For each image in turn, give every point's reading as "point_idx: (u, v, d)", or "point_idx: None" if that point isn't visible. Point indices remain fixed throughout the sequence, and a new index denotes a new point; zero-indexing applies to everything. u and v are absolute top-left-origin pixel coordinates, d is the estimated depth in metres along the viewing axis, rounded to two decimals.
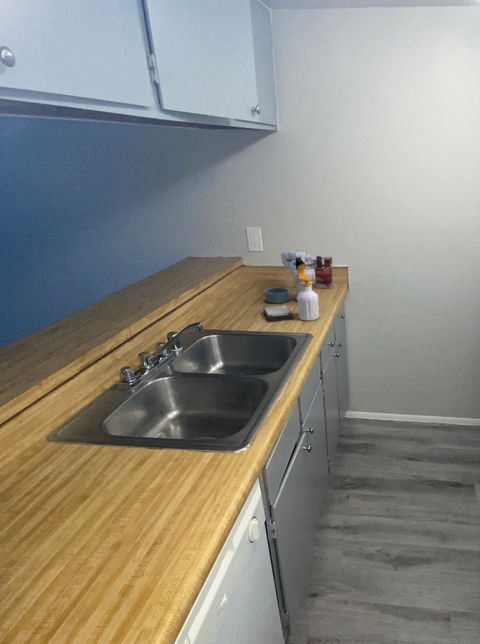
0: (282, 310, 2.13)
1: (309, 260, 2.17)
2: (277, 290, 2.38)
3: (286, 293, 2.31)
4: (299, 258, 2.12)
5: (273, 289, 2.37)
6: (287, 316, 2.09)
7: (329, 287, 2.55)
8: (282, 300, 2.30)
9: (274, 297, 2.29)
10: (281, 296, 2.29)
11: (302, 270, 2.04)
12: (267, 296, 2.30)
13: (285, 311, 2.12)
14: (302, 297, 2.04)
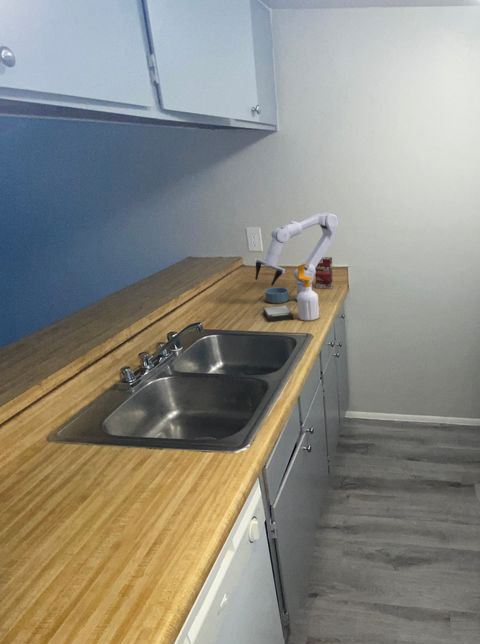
0: (282, 310, 2.13)
1: (271, 265, 2.17)
2: (277, 290, 2.38)
3: (286, 293, 2.31)
4: (259, 267, 2.15)
5: (273, 289, 2.37)
6: (287, 316, 2.09)
7: (329, 287, 2.55)
8: (282, 300, 2.30)
9: (274, 297, 2.29)
10: (281, 296, 2.29)
11: (302, 270, 2.04)
12: (267, 296, 2.30)
13: (285, 311, 2.12)
14: (302, 297, 2.04)
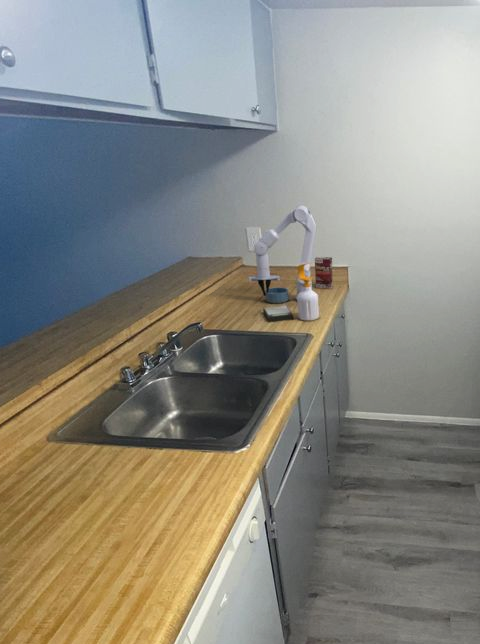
0: (282, 310, 2.13)
1: None
2: (277, 290, 2.38)
3: (286, 293, 2.31)
4: (261, 284, 2.28)
5: (273, 289, 2.37)
6: (287, 316, 2.09)
7: (329, 287, 2.55)
8: (282, 300, 2.30)
9: (274, 297, 2.29)
10: (281, 296, 2.29)
11: (302, 270, 2.04)
12: (267, 296, 2.30)
13: (285, 311, 2.12)
14: (302, 297, 2.04)
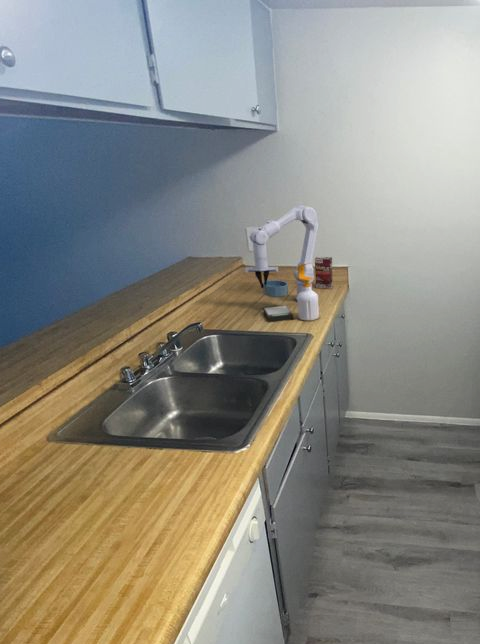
0: (282, 310, 2.13)
1: None
2: (276, 283, 2.25)
3: (285, 287, 2.18)
4: (259, 276, 2.14)
5: (272, 282, 2.24)
6: (287, 316, 2.09)
7: (329, 287, 2.55)
8: (280, 294, 2.17)
9: (272, 290, 2.15)
10: (280, 290, 2.16)
11: (302, 270, 2.04)
12: (265, 289, 2.17)
13: (285, 311, 2.12)
14: (302, 297, 2.04)
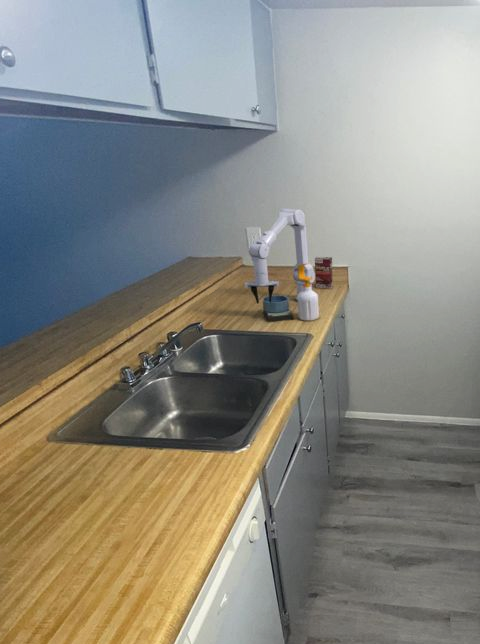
0: None
1: None
2: (276, 298, 2.17)
3: (286, 302, 2.10)
4: (254, 291, 2.06)
5: (272, 297, 2.16)
6: (287, 316, 2.09)
7: (329, 287, 2.55)
8: (281, 310, 2.09)
9: (272, 306, 2.07)
10: (280, 305, 2.08)
11: (302, 270, 2.04)
12: (265, 305, 2.09)
13: (285, 311, 2.12)
14: (302, 297, 2.04)
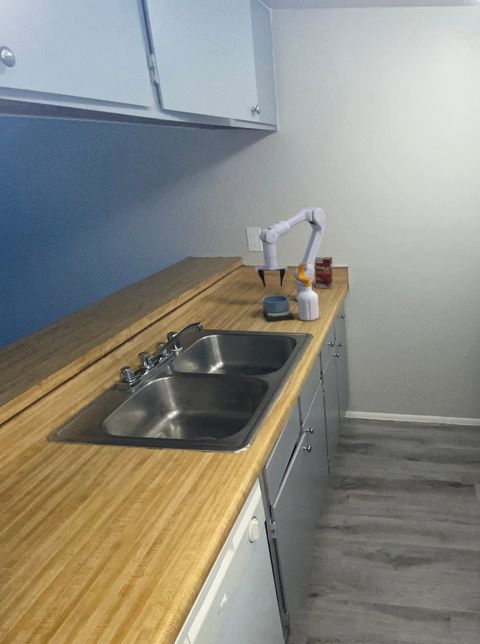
0: None
1: None
2: (276, 298, 2.17)
3: (286, 302, 2.10)
4: (261, 275, 2.16)
5: (272, 297, 2.16)
6: (287, 316, 2.09)
7: (329, 287, 2.55)
8: (281, 310, 2.09)
9: (272, 306, 2.07)
10: (280, 305, 2.08)
11: (302, 270, 2.04)
12: (265, 305, 2.09)
13: (285, 311, 2.12)
14: (302, 297, 2.04)
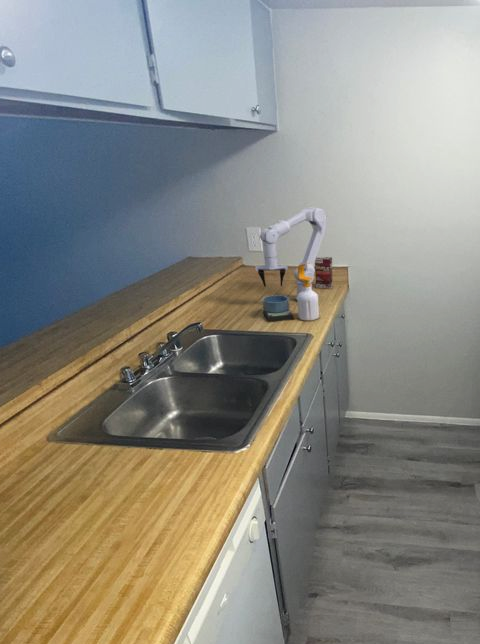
0: None
1: None
2: (276, 298, 2.17)
3: (286, 302, 2.10)
4: (262, 274, 2.17)
5: (272, 297, 2.16)
6: (287, 316, 2.09)
7: (329, 287, 2.55)
8: (281, 310, 2.09)
9: (272, 306, 2.07)
10: (280, 305, 2.08)
11: (302, 270, 2.04)
12: (265, 305, 2.09)
13: (285, 311, 2.12)
14: (302, 297, 2.04)
